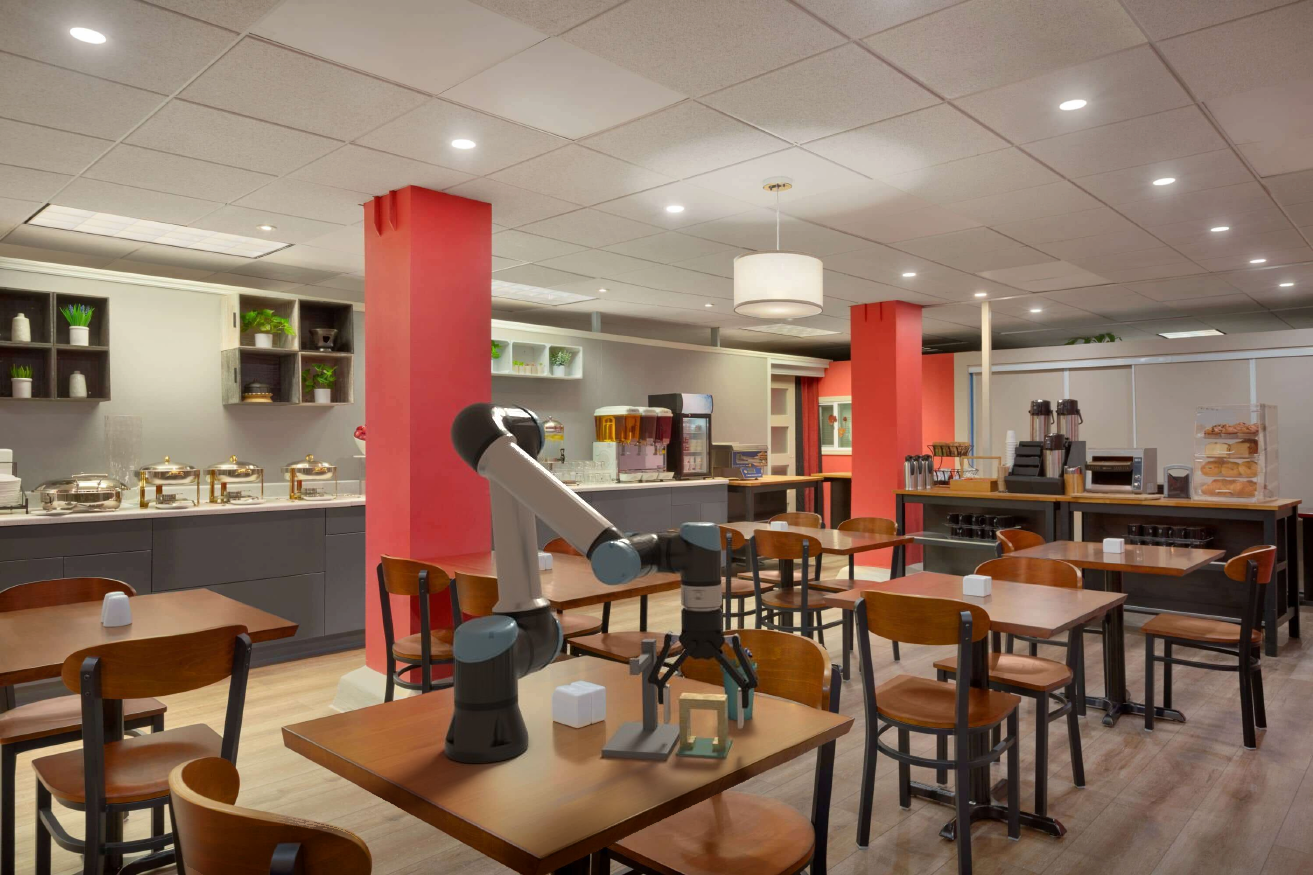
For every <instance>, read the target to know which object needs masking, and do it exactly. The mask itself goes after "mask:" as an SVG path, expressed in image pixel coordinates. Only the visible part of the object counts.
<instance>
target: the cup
mask: <svg viewBox="0 0 1313 875" xmlns="http://www.w3.org/2000/svg"><path fill="white" fill-rule="evenodd" d="M743 650H744V652H745V654H746V656H747V658H748V659H752V658H753V657H754V656H753V654H752V653H751V651H750V649H749V648H747V647H745V648H743ZM734 657H735V659H729V660H730V661H731V662H732V663H733V664H734V666H735V667H736V668H737V669H738V670H739V672H740V673H741V674H742V675H743V676H744V678H745V679H746V680H747V681H749V680H748V678H747V676H746V674H745V672H744V670H743V668H742V666H741V664H740V662H739V660H738V658H737V657H736V655H735V654H734ZM749 662H750V664H751V666H752V668H753V670H754V672H755V673H756V671H757V668H758V663H757V662H755V661H751V660H749ZM720 669H721V670H720V671H721V672H722V676H723V677H722V678H723V679H722V680H723V686H724V695H727V696H728V719H731V720H734V721H738V708H737V691H738V689H739V688H740V687H739V686H738V685H737V683H736V682H735V681H734V680H733V679H732V677H731V676H730V675H729V674H728V673H727V671H726V670H725V669H724V668H723V667H722V665H721V664H720ZM754 693H755V688H752V689H750V690H749V706H748V708H747V709H745V708H743V709H744V721H746V720H750V719H753V711H754V699H755V698H754V696H755V695H754Z"/></svg>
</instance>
